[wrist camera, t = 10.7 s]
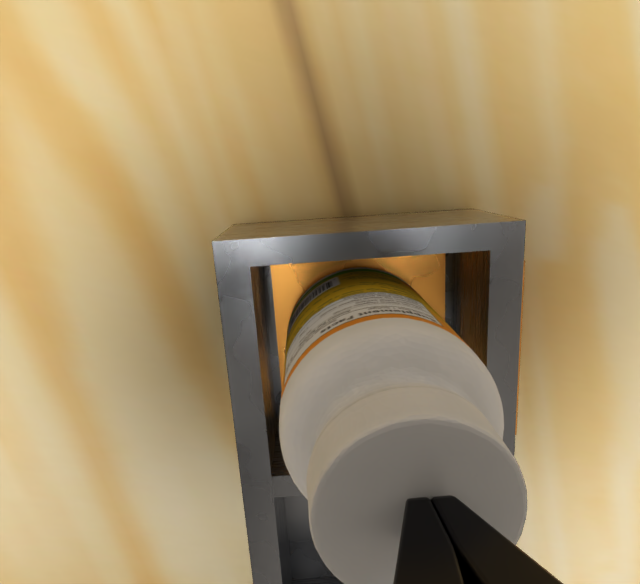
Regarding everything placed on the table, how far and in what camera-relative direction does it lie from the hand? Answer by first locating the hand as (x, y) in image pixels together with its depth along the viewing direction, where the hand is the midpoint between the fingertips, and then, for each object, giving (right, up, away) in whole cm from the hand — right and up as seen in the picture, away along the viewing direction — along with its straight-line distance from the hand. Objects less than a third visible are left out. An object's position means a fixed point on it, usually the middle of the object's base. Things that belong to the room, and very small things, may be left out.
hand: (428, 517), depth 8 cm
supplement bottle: (-1, +2, +10) cm, 10 cm away
